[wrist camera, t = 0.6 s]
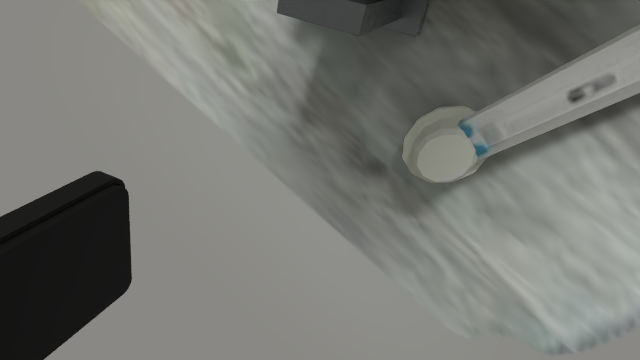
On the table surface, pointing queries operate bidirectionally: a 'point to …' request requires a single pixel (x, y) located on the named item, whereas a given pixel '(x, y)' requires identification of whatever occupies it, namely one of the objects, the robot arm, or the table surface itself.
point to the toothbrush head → (522, 111)
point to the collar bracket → (359, 14)
